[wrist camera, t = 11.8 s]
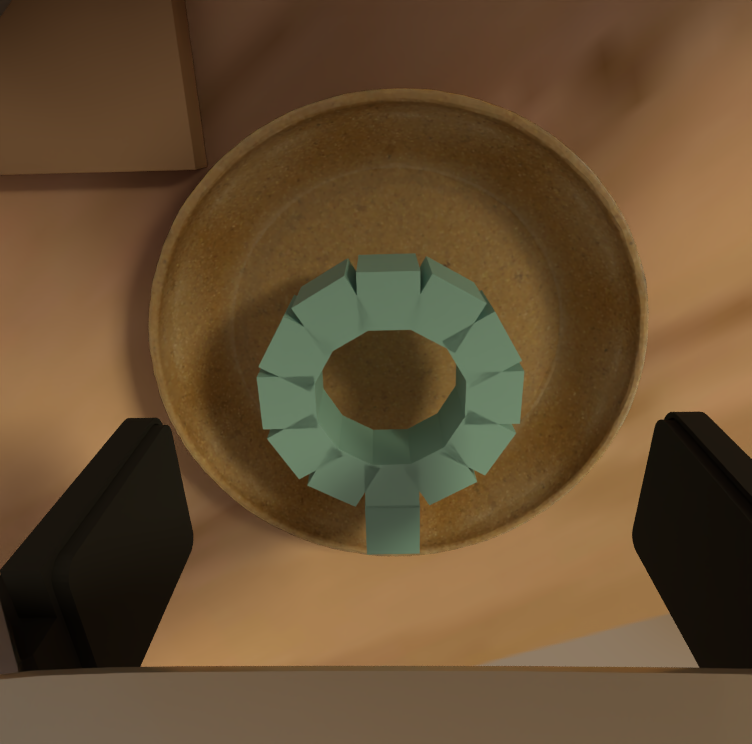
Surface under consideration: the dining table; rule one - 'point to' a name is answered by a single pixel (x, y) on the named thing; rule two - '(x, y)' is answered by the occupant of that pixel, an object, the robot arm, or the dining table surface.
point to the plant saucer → (401, 347)
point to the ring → (390, 446)
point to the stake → (97, 87)
